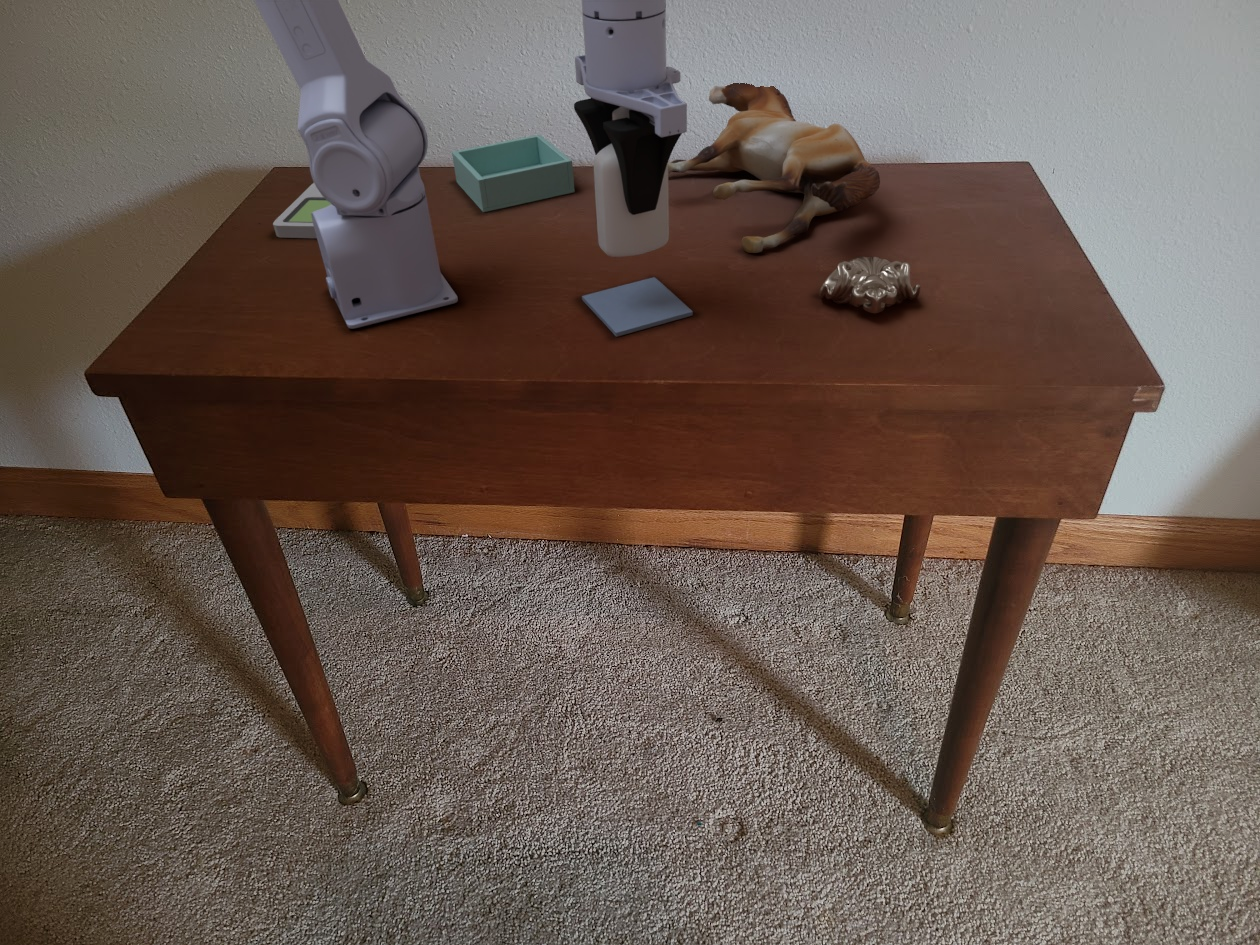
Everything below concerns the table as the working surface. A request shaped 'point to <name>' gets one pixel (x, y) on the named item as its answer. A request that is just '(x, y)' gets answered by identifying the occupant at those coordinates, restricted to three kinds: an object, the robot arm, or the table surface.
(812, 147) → the horse figurine
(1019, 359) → the table surface
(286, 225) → the handheld gaming console
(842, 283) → the ornament
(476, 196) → the box
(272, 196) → the table surface
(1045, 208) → the table surface
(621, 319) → the pad
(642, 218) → the eye dropper bottle
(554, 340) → the table surface
